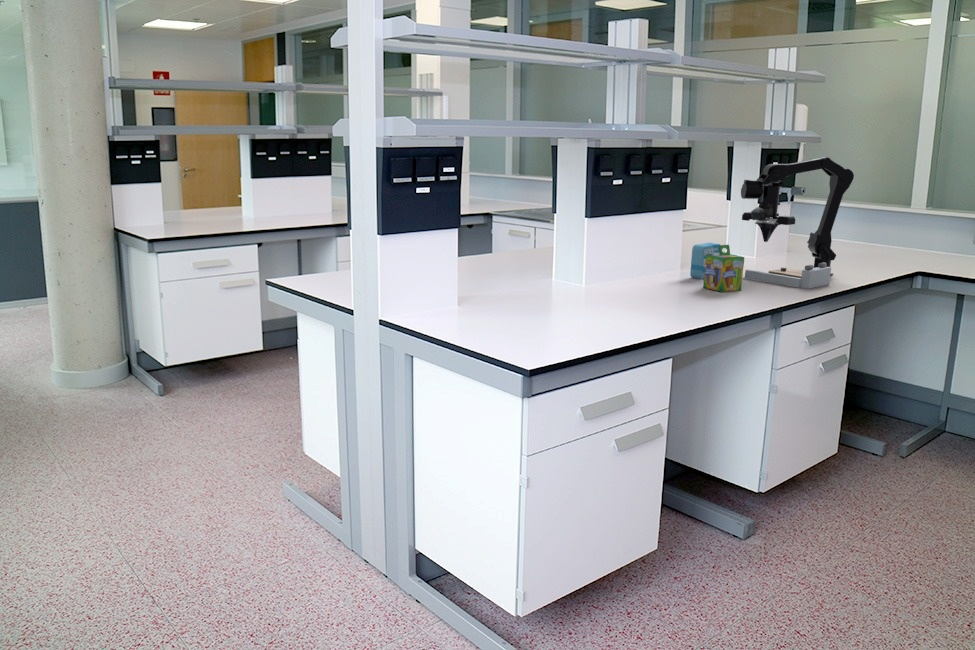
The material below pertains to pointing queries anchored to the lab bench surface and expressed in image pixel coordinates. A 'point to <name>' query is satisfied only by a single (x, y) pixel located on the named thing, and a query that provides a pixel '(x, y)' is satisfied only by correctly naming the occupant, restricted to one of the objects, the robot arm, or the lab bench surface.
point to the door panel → (787, 272)
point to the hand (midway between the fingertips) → (765, 241)
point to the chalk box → (723, 271)
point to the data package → (701, 258)
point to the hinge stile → (815, 276)
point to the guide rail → (773, 278)
